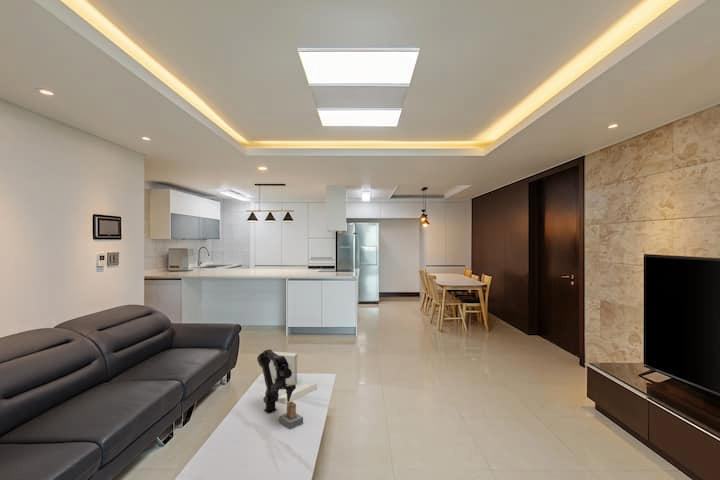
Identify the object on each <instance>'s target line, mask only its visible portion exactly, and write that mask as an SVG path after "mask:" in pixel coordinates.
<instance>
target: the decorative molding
mask: <svg viewBox="0 0 720 480" xmlns="http://www.w3.org/2000/svg"><path fill="white" fill-rule="evenodd" d="M316 390H318V383H317V382H315V383H314V382H313V383H306V384H304V385H302V386H300V387H298V388H297V387H296V389H294V391H293V392H292V394H291V397H290V400H289V402H291V401H292V402H293V401H296V400H297V399H299V398H302V397H304V396H306V395H308V394H310V393H312V392H314V391H316ZM277 402H278V403H281V404H283V405H287V403H288V401H287V393H286V392H285V393H284V394H282V395H279V397H278V401H277Z"/></svg>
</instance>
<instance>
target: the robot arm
mask: <svg viewBox="0 0 720 480" xmlns="http://www.w3.org/2000/svg"><path fill="white" fill-rule="evenodd" d="M274 352H275V351H272V349H266V350H263V352H261V353H259V354H258V356H257V358H256V360H257V363H258V365H259V366H260V367H261V368H262V373H263V377H264V382H265V387H266V388H265V389H266V390H265V392H264V393H265V395H264V397H263V398H262V399H263V400H262V401H263V402H264V404H265V409H263V411H264V412H266V413H268V414H271V413H274V412H276V411H278V409H277V408H276V402H278V397H280V394H279V390H285V394H286V393H287V401H288V402H289V400H290V397H291V394H292V392H293V391H294V390H295V389H297V387H296V385H288V386H286V385H287V384H286V379H287V378H290V377H291V375H292V371H291V370H290V369H289V365H288V362H287V360H286V358H285V357H284V356H279V355H277V354H275V353H274ZM270 360H272V361H273V364H274V365H275V367H276V368H275V369H276V377H277V379H275V383H274V384H273V381H272V377H271V372H270V368H269V364H270Z"/></svg>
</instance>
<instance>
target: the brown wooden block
mask: <svg viewBox="0 0 720 480" xmlns="http://www.w3.org/2000/svg"><path fill="white" fill-rule="evenodd" d="M286 413H287V418H289V419H290V420H292V419H294V418H296V413H297V404H296V403H295V402H293V401H291V402H288V403H287V404H286Z"/></svg>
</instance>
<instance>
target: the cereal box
mask: <svg viewBox="0 0 720 480" xmlns="http://www.w3.org/2000/svg"><path fill="white" fill-rule="evenodd" d="M273 352H274V353H275V354H277V355H279V356H284V357H285V358H286V360H287V362H288V365H289V369H290V370H291V371H292V375H291V377H290V378H287V379H286V384H287V385H286V386H288V385H295V386H296V385H297V384H298V383H297V382H298V353H297V352H284V351H273ZM269 368H270V372H271V377H272V381H273V384H274V383H275V379H277V377H276V369H275V368H276V367H275V365H274V364H273V361H272V360H270V364H269Z"/></svg>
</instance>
